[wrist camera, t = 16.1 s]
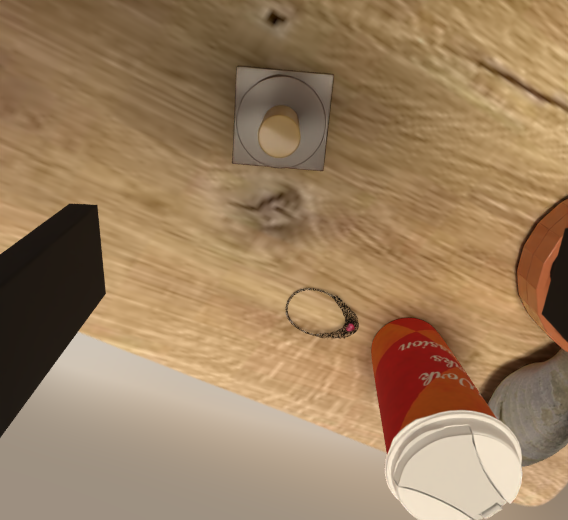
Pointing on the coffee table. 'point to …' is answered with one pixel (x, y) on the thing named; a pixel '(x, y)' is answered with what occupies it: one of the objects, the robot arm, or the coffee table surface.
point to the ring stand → (281, 118)
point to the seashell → (535, 407)
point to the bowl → (542, 267)
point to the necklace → (350, 324)
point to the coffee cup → (439, 429)
